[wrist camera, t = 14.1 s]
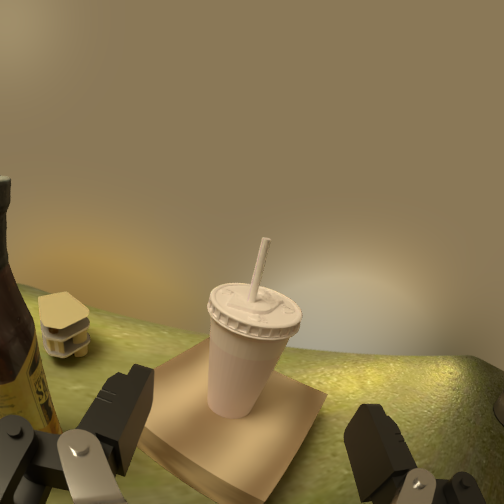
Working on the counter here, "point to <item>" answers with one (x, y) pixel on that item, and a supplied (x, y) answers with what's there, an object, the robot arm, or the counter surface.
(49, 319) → the stacked layers on plate
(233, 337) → the smoothie
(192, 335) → the counter surface
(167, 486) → the counter surface
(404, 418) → the counter surface
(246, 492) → the riser
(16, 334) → the sauce bottle
